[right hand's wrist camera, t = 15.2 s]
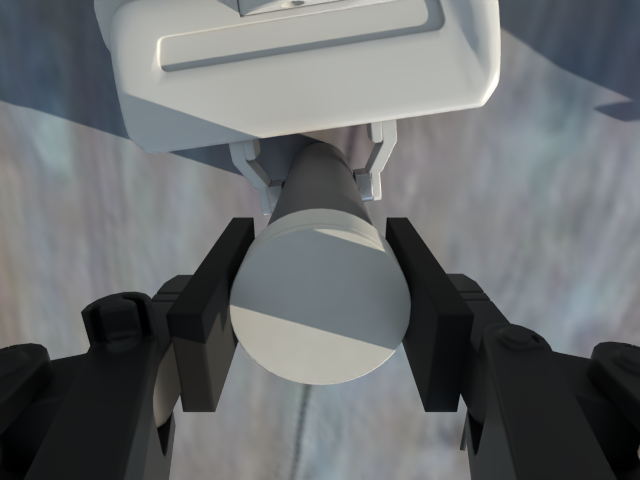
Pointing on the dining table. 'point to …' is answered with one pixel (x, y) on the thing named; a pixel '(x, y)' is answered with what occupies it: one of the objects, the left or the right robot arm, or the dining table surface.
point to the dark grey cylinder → (320, 184)
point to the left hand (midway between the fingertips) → (322, 205)
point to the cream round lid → (320, 298)
